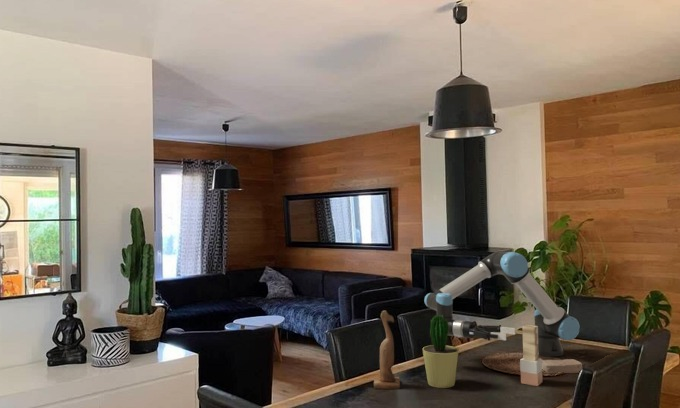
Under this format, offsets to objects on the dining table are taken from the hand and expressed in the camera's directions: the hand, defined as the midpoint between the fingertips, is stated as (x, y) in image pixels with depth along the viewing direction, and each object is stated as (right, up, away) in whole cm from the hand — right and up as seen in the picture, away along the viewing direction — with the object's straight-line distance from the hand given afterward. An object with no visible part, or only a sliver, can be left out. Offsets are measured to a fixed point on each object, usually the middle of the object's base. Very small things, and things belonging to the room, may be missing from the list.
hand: (510, 334), depth 227 cm
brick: (+27, -20, +11) cm, 36 cm away
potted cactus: (-32, -20, -5) cm, 38 cm away
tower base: (+7, -20, -5) cm, 22 cm away
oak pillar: (+7, -10, -5) cm, 13 cm away
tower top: (+7, -15, -5) cm, 17 cm away
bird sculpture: (-55, -21, -6) cm, 59 cm away
